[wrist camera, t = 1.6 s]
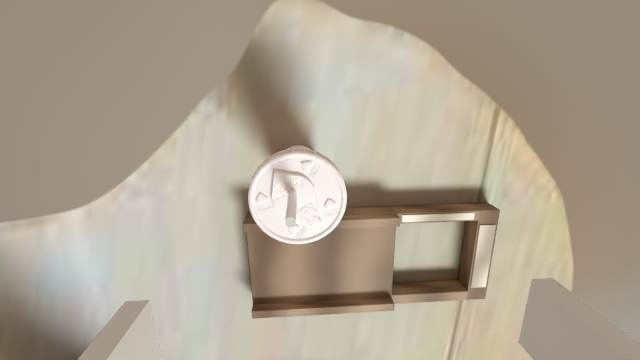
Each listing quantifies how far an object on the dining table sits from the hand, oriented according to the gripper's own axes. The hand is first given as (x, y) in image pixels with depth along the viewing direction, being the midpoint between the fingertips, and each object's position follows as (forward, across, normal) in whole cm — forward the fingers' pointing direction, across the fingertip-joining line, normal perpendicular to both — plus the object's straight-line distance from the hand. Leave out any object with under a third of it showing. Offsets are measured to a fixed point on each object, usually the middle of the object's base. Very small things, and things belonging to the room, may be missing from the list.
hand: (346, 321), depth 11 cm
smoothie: (+19, -2, +1) cm, 19 cm away
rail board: (+19, +5, -8) cm, 22 cm away
